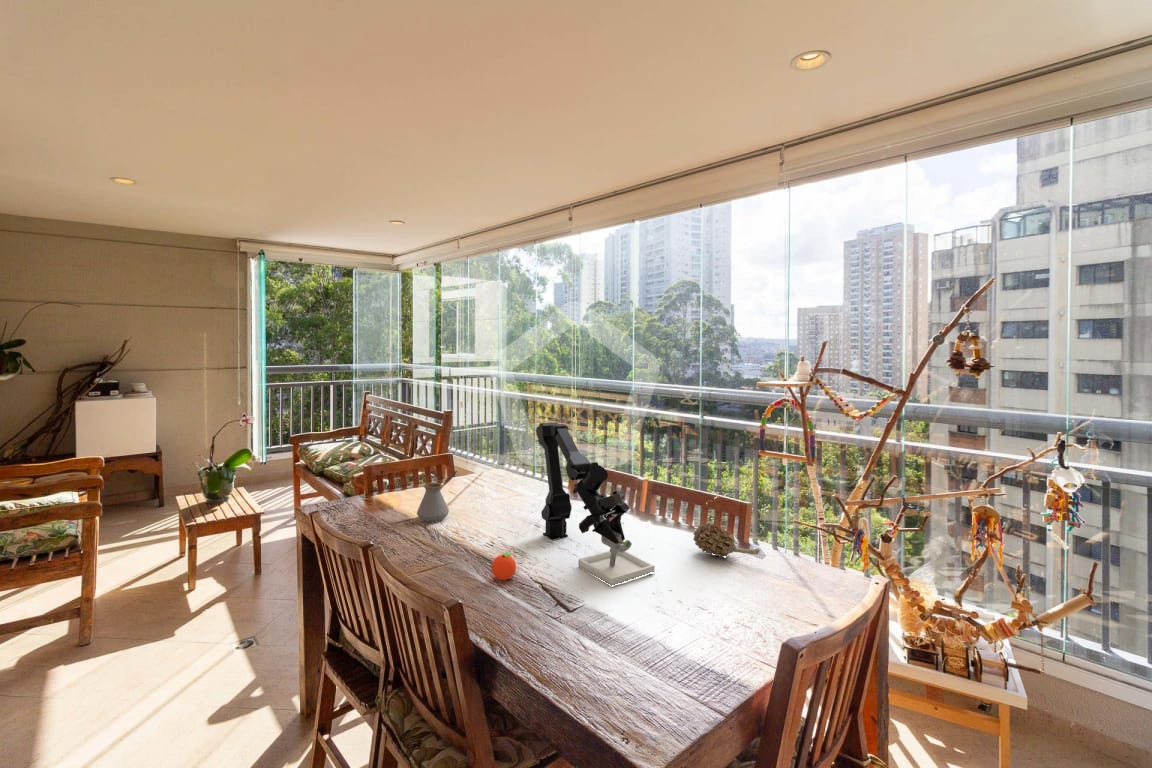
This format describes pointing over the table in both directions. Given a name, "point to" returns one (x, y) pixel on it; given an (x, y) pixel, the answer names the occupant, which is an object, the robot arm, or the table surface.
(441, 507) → the coffee pot
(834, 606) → the table surface
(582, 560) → the parts tray
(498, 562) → the clementine
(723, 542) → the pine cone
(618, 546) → the mechanical component
